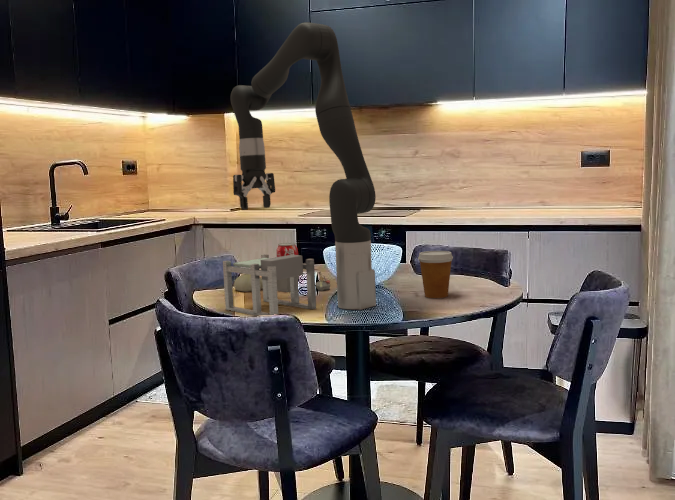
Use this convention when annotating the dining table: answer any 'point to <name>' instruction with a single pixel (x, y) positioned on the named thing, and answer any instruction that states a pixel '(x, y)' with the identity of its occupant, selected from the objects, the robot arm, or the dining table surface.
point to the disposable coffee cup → (435, 272)
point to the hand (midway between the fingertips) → (256, 208)
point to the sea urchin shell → (245, 283)
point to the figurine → (323, 283)
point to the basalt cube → (284, 285)
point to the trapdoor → (278, 265)
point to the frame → (268, 288)
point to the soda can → (287, 249)
